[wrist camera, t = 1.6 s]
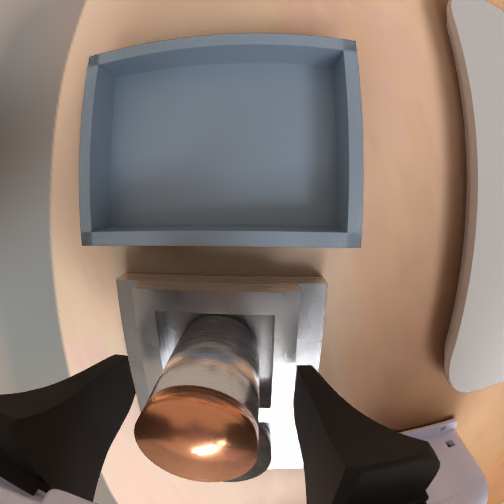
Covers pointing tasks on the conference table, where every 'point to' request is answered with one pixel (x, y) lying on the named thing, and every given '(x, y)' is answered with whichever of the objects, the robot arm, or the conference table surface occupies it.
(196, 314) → the base
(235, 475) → the copper lid glass jar
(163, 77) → the parts tray
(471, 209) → the tablet
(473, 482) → the robot arm
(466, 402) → the conference table surface
